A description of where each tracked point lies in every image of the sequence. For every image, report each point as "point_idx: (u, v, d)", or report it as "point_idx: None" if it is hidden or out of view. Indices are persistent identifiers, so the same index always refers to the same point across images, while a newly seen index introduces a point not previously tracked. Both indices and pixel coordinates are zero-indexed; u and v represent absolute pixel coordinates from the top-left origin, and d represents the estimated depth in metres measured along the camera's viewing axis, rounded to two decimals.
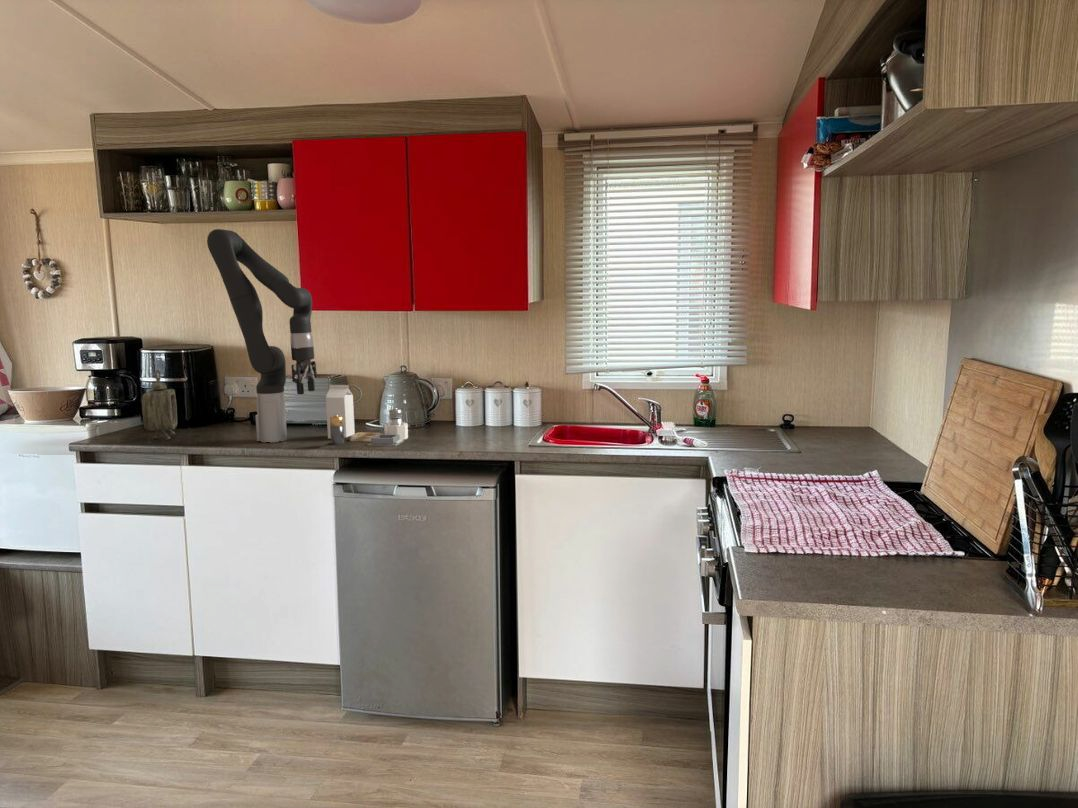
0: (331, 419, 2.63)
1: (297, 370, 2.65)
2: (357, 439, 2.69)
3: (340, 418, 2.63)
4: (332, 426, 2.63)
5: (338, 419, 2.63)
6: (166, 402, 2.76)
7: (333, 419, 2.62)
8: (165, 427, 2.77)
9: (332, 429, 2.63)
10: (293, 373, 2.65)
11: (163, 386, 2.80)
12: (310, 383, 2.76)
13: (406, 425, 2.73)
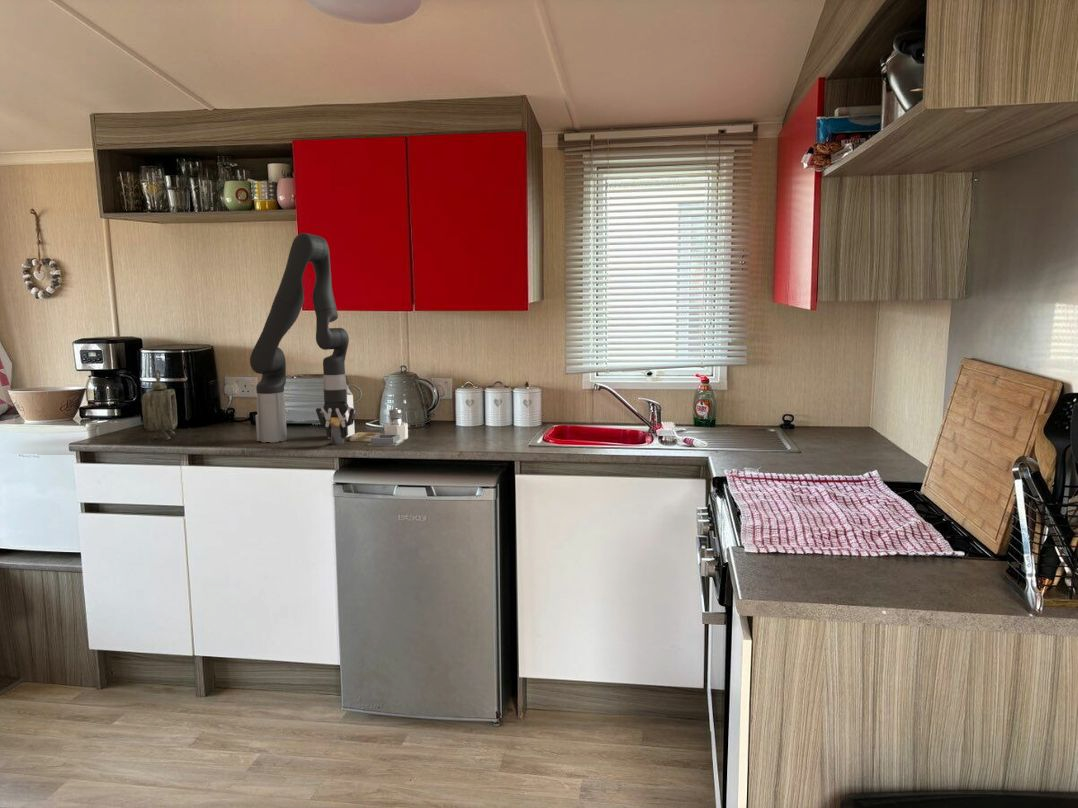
0: (331, 419, 2.63)
1: (354, 414, 2.64)
2: (357, 439, 2.69)
3: None
4: (332, 426, 2.63)
5: (338, 419, 2.63)
6: (166, 402, 2.76)
7: (333, 419, 2.62)
8: (165, 427, 2.77)
9: (332, 429, 2.63)
10: (352, 417, 2.63)
11: (163, 386, 2.80)
12: None
13: (406, 425, 2.73)
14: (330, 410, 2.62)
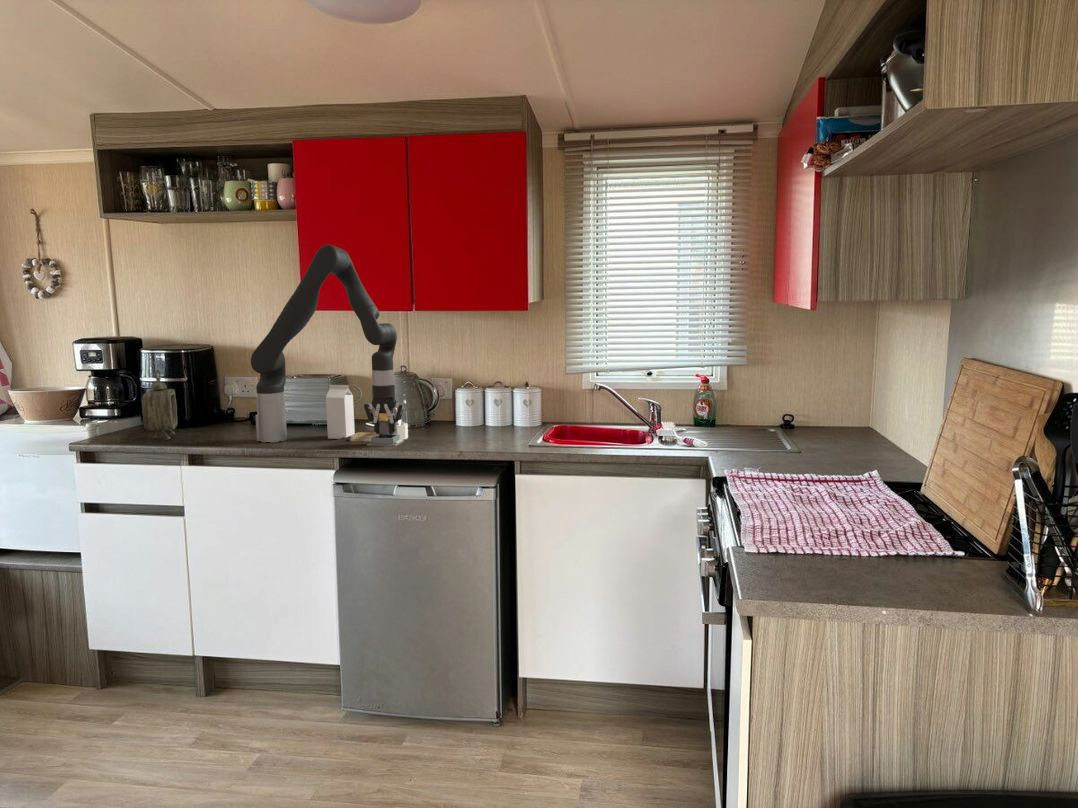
0: (379, 415, 2.62)
1: None
2: (357, 439, 2.69)
3: None
4: (380, 422, 2.62)
5: (386, 415, 2.61)
6: (166, 402, 2.76)
7: (381, 415, 2.61)
8: (165, 427, 2.77)
9: (380, 425, 2.62)
10: (400, 413, 2.62)
11: (163, 386, 2.80)
12: None
13: (406, 425, 2.73)
14: (378, 406, 2.61)
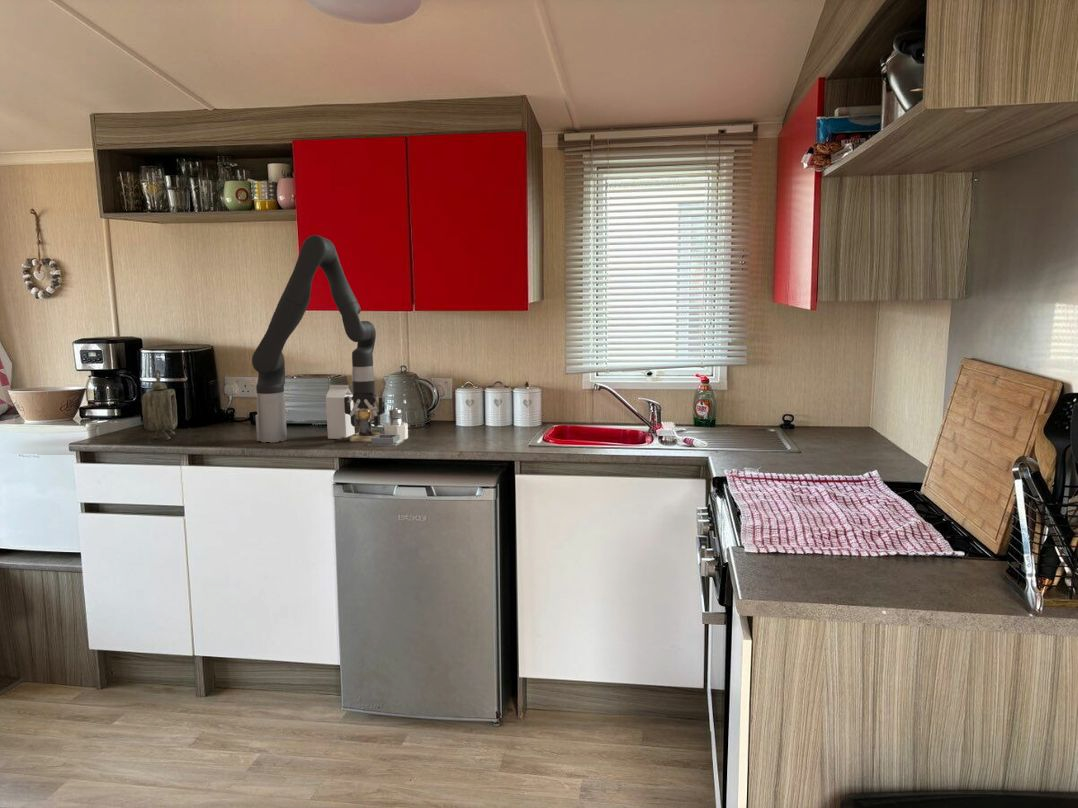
0: (359, 413, 2.69)
1: (384, 402, 2.71)
2: (357, 439, 2.69)
3: (368, 412, 2.70)
4: (360, 419, 2.70)
5: (366, 413, 2.69)
6: (166, 402, 2.76)
7: (361, 413, 2.69)
8: (165, 427, 2.77)
9: (360, 422, 2.70)
10: (382, 405, 2.69)
11: (163, 386, 2.80)
12: (355, 418, 2.72)
13: (406, 425, 2.73)
14: (358, 401, 2.69)
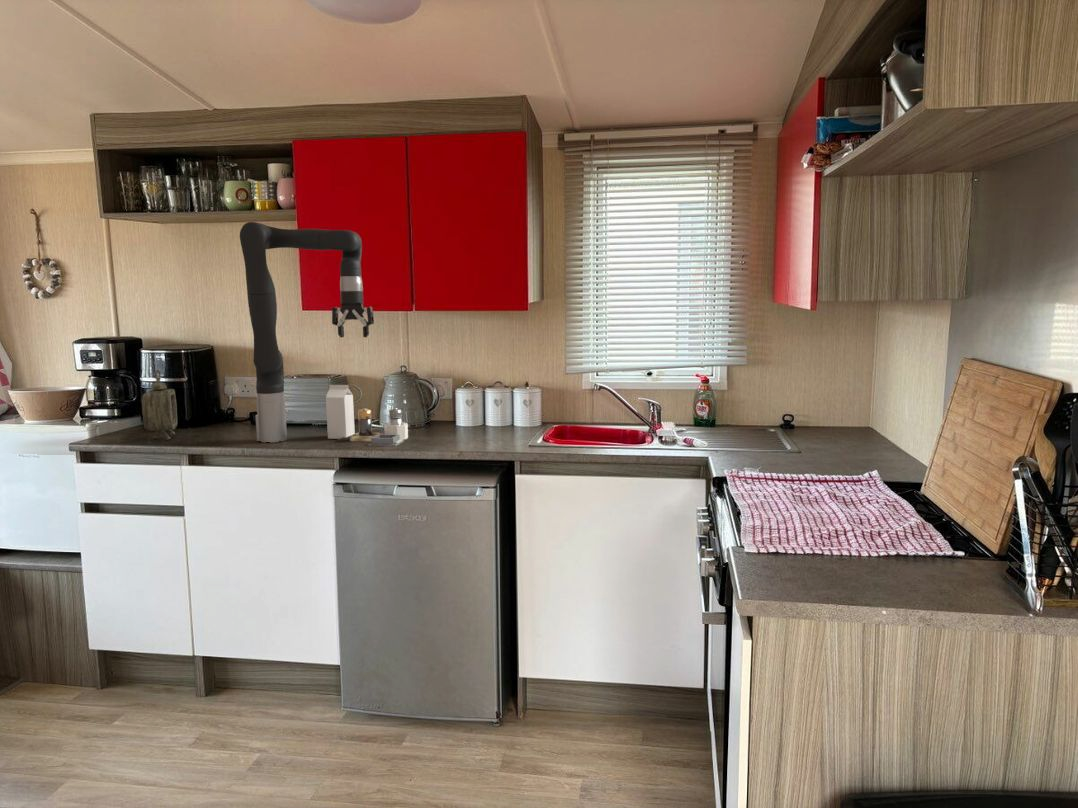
0: (360, 413, 2.69)
1: (372, 312, 2.70)
2: (357, 439, 2.69)
3: (369, 412, 2.70)
4: (360, 419, 2.70)
5: (366, 413, 2.69)
6: (166, 402, 2.76)
7: (362, 413, 2.69)
8: (165, 427, 2.77)
9: (361, 422, 2.70)
10: (371, 315, 2.68)
11: (163, 386, 2.80)
12: (342, 329, 2.71)
13: (406, 425, 2.73)
14: (346, 312, 2.68)
